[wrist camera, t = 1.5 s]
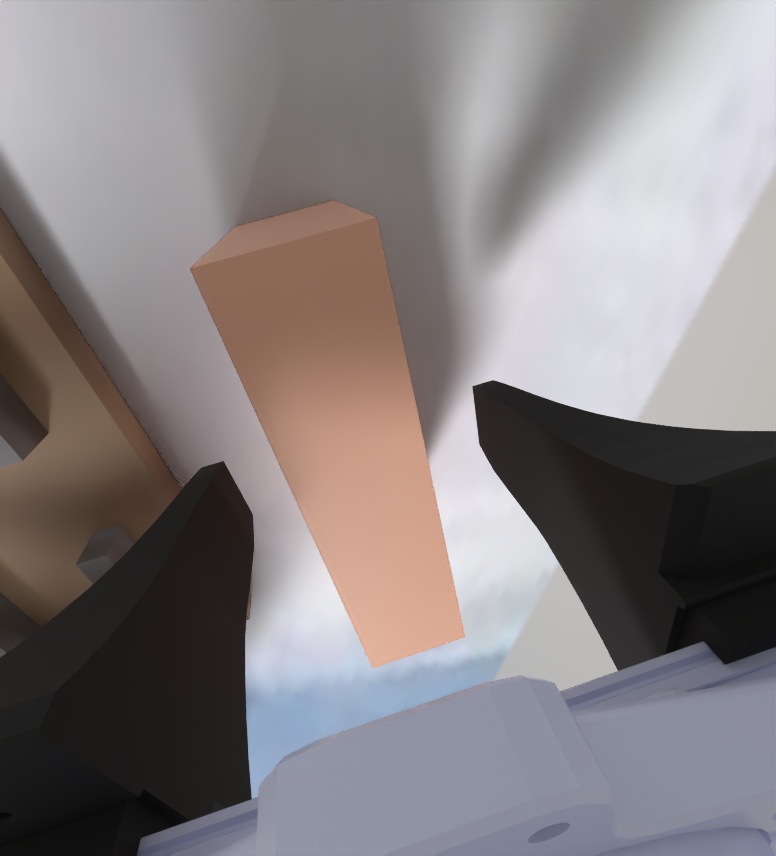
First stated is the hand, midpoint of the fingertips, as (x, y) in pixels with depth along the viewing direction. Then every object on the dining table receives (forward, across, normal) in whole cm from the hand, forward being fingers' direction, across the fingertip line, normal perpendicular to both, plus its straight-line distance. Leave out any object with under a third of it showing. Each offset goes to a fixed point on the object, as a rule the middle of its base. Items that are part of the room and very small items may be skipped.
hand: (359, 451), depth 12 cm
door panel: (+4, 0, 0) cm, 4 cm away
